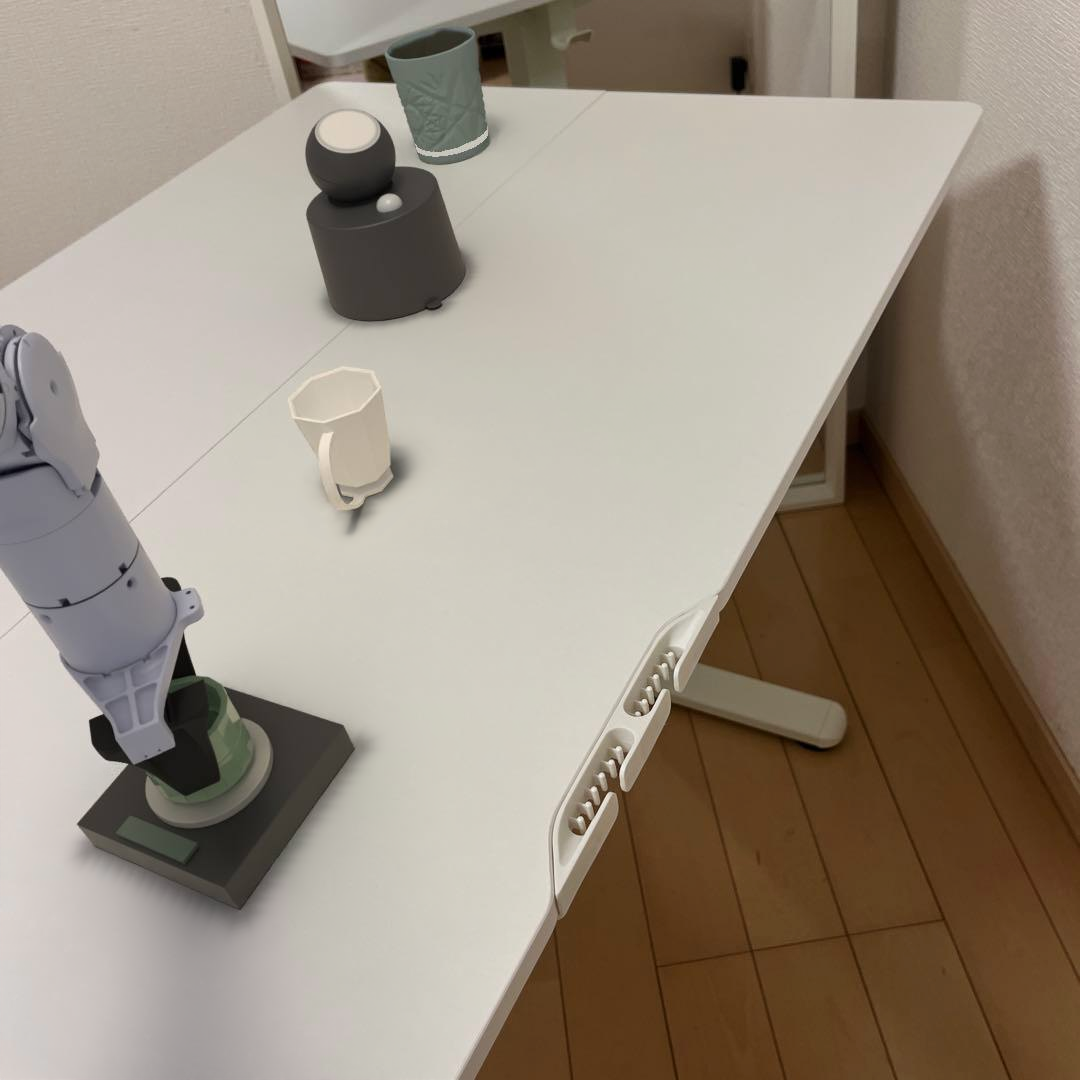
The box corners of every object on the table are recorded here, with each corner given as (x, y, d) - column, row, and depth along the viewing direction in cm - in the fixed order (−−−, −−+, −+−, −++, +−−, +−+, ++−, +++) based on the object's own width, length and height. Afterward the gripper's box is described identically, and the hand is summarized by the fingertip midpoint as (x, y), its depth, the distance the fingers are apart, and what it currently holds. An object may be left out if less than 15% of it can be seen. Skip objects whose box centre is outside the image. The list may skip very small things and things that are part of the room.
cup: (417, 446, 86) (388, 359, 80) (396, 533, 78) (364, 443, 73) (331, 456, 87) (297, 370, 82) (303, 542, 80) (264, 454, 74)
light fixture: (321, 170, 88) (249, 133, 98) (376, 340, 99) (306, 291, 108) (457, 109, 93) (376, 78, 103) (497, 277, 103) (419, 235, 113)
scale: (239, 910, 58) (220, 881, 56) (93, 845, 63) (70, 817, 61) (355, 748, 64) (340, 718, 63) (214, 701, 69) (197, 672, 68)
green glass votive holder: (201, 825, 59) (167, 775, 56) (139, 782, 62) (104, 732, 59) (276, 750, 62) (248, 699, 59) (214, 712, 65) (184, 661, 62)
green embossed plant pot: (407, 172, 126) (377, 65, 118) (417, 136, 133) (391, 34, 125) (493, 158, 124) (470, 49, 116) (499, 123, 132) (478, 18, 124)
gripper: (185, 627, 47) (290, 809, 56) (143, 453, 57) (237, 630, 66) (20, 695, 45) (155, 871, 54) (8, 505, 56) (123, 678, 65)
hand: (192, 742), depth 60 cm, fingers closed on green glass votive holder, 6 cm apart
